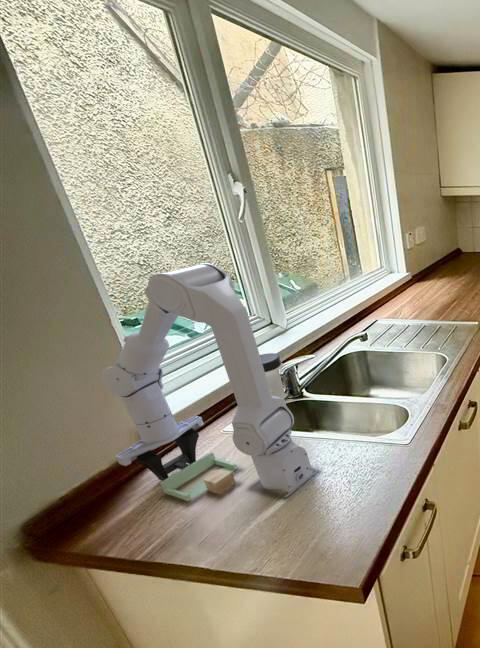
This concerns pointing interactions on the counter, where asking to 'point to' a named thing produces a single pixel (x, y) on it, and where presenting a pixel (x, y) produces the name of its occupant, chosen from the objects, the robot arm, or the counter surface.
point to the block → (219, 481)
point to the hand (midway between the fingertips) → (178, 471)
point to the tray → (190, 474)
